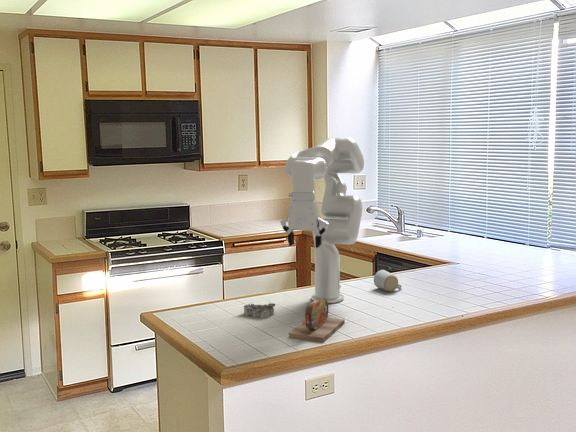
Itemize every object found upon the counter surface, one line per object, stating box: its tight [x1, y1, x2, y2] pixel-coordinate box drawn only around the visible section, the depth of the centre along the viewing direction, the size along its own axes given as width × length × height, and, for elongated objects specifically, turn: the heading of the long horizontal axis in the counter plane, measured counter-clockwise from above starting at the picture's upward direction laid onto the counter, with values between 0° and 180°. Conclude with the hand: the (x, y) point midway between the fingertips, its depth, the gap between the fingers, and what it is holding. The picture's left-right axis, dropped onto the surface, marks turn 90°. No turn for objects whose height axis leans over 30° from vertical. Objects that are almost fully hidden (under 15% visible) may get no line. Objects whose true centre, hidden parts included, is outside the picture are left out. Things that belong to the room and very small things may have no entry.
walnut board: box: [288, 316, 346, 343], centre depth 210 cm, size 20×12×2 cm, turn 156°
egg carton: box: [242, 302, 276, 319], centre depth 229 cm, size 11×8×4 cm
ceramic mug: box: [373, 269, 403, 293], centre depth 260 cm, size 11×8×8 cm
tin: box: [304, 298, 329, 330], centre depth 210 cm, size 15×3×8 cm, turn 156°
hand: (304, 245), depth 218 cm, fingers open, 9 cm apart
